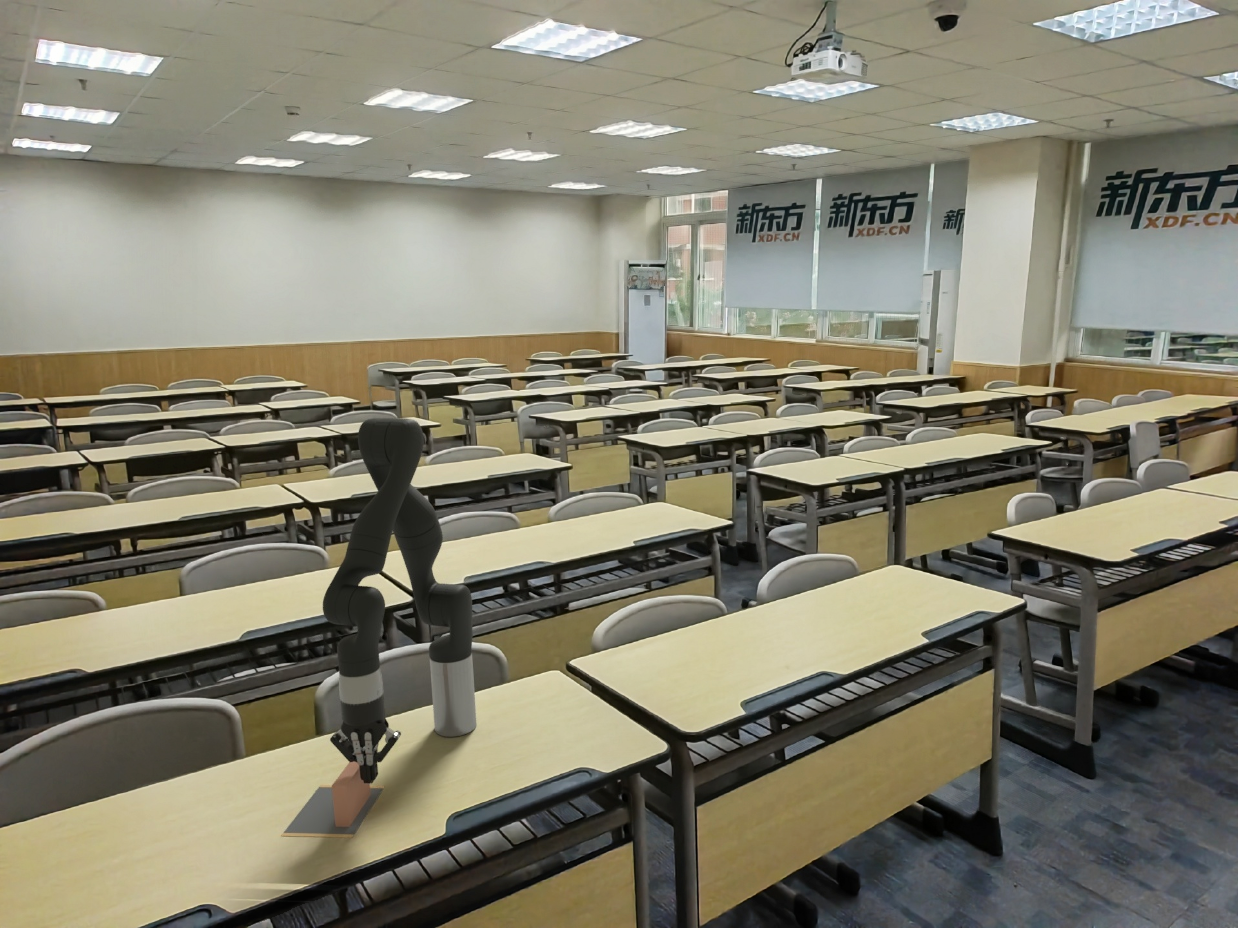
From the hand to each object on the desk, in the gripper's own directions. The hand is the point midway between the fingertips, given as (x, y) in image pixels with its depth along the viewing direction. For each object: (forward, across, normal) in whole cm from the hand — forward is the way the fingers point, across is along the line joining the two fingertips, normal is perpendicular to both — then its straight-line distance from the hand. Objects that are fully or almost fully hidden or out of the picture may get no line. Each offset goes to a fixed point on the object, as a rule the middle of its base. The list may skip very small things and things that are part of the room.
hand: (369, 780), depth 150 cm
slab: (+6, +4, 0) cm, 7 cm away
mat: (+7, +7, 0) cm, 10 cm away
